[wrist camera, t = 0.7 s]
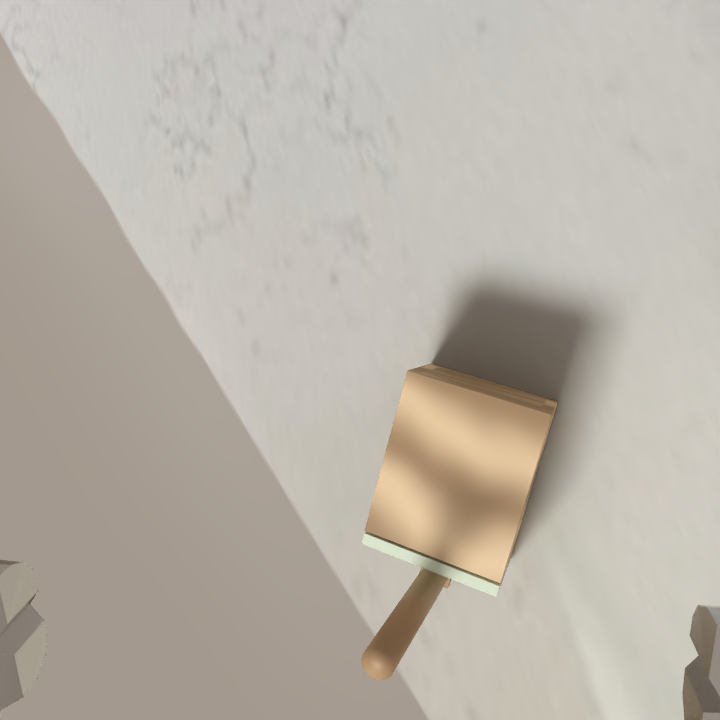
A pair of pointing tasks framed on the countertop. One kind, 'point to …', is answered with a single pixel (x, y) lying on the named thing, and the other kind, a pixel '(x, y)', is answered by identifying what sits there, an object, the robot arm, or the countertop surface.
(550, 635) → the countertop surface
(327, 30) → the countertop surface
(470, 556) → the tan wooden block
